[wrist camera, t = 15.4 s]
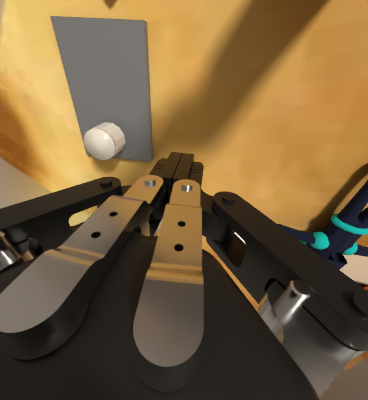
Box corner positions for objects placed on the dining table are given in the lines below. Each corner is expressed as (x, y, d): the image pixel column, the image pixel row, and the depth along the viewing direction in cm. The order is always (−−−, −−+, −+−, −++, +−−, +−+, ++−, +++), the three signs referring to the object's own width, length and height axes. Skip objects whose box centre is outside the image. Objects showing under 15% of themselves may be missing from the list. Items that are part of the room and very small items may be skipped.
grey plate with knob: (56, 18, 32) (18, 6, 26) (146, 22, 31) (129, 10, 25) (90, 152, 46) (70, 164, 40) (153, 159, 45) (142, 173, 39)
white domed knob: (94, 121, 38) (80, 127, 34) (122, 123, 37) (111, 130, 33) (100, 149, 41) (88, 158, 37) (126, 152, 41) (116, 161, 37)
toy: (307, 145, 39) (251, 243, 56) (327, 160, 32) (256, 266, 49) (454, 180, 38) (353, 268, 55) (506, 203, 32) (372, 295, 48)
